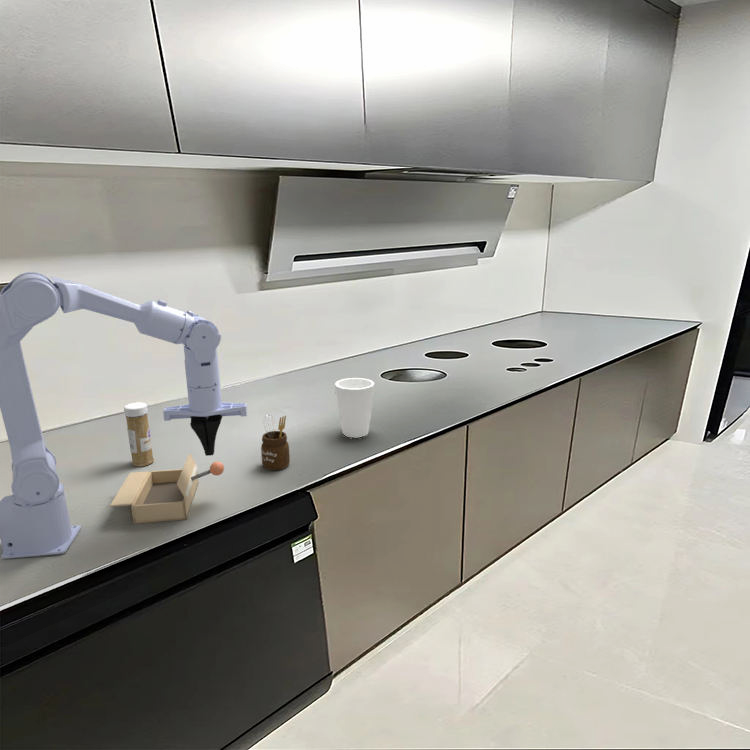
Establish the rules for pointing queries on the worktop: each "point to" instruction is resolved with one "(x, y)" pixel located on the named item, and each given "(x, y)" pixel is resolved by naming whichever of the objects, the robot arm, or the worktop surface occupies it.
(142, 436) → the sprinkles bottle
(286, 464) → the utensil holder
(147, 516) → the carton
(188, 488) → the flap
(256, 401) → the worktop surface
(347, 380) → the foam cup
